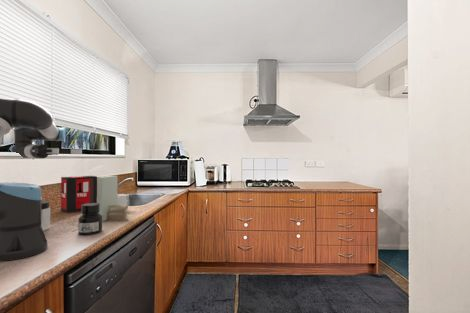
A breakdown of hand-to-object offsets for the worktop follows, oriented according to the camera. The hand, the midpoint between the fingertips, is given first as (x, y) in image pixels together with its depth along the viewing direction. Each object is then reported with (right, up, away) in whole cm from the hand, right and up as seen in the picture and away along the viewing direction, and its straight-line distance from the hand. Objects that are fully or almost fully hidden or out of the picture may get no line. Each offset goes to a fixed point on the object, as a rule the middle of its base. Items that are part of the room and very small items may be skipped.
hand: (70, 151), depth 129 cm
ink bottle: (+22, -35, -21) cm, 47 cm away
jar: (-3, -35, -18) cm, 40 cm away
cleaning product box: (-11, -35, +25) cm, 45 cm away
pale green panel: (+17, -35, +3) cm, 39 cm away
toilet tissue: (+14, -35, +18) cm, 42 cm away
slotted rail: (+18, -35, +3) cm, 39 cm away
